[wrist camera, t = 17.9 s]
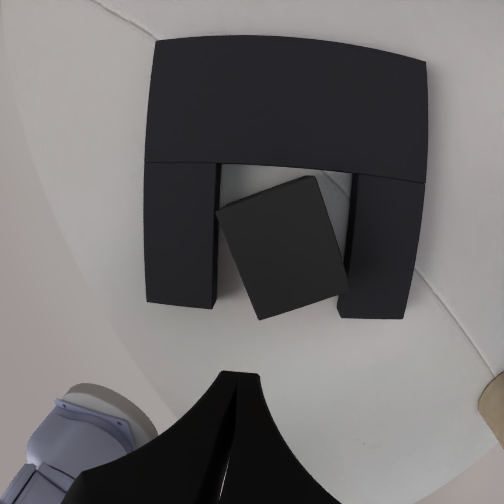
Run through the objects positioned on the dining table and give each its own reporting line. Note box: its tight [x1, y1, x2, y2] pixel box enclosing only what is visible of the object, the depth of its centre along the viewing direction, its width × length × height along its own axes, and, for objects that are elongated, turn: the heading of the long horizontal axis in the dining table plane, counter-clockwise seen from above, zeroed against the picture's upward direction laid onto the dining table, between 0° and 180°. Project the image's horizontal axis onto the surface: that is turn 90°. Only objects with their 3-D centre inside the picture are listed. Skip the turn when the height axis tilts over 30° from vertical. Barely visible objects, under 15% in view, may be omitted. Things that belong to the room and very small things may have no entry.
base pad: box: [143, 35, 428, 319], centre depth 17 cm, size 16×16×2 cm
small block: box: [216, 176, 351, 320], centre depth 17 cm, size 6×5×4 cm
